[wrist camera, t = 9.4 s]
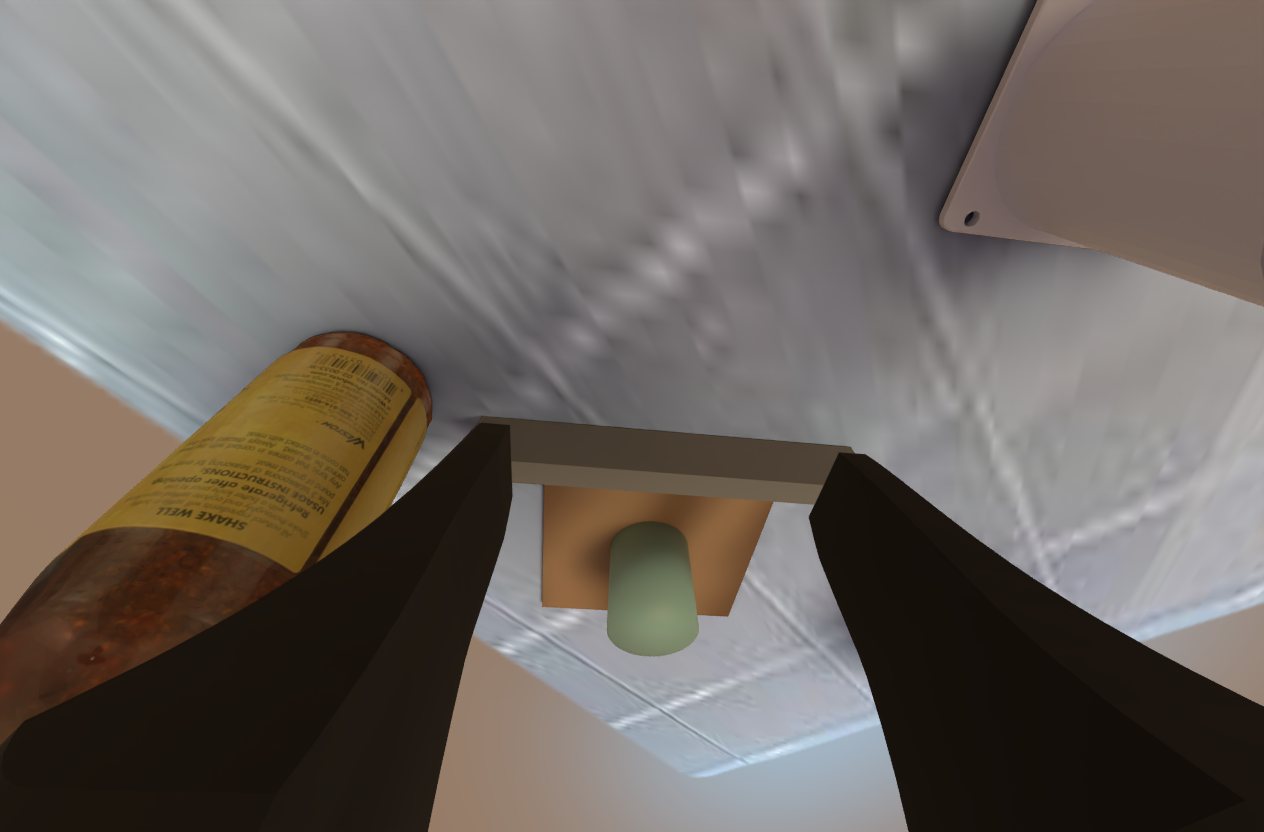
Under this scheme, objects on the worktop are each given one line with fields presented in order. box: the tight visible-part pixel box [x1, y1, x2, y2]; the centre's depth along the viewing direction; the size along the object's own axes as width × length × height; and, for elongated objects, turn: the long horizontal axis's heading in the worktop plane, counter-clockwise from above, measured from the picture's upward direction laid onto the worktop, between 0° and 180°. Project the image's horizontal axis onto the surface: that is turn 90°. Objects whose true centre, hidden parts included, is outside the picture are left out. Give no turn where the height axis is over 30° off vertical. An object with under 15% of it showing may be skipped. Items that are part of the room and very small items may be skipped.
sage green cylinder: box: [607, 521, 699, 656], centre depth 25 cm, size 4×4×5 cm
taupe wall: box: [478, 416, 854, 505], centre depth 22 cm, size 18×1×3 cm, turn 83°
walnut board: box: [542, 485, 773, 616], centre depth 27 cm, size 12×12×1 cm
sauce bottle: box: [0, 332, 432, 745], centre depth 13 cm, size 7×6×20 cm
